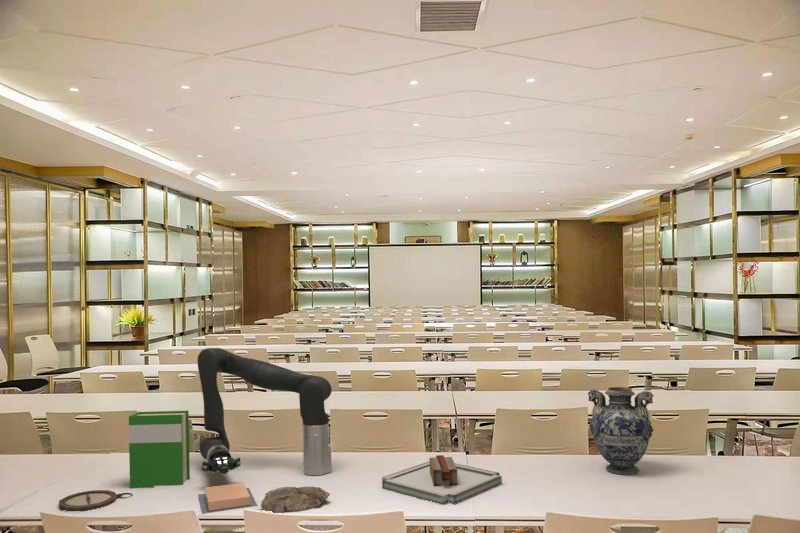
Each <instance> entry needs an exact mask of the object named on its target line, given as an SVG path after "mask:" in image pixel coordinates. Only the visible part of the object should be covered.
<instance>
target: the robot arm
mask: <svg viewBox="0 0 800 533" xmlns="http://www.w3.org/2000/svg"><path fill="white" fill-rule="evenodd" d="M197 369H198V374H199V380H200V385H201V387H200V388H201V392H202V398H203V400H202V401H203V420H204V421H203V423H204V425H203V426H204V427H203V428H204V430H205V431H207V432H208V431H209V432H216V433H217V434H218V436H212V437H205V438H203V439H202V440H201V441H200V443H199V453H200V455H201V457H202V458H203V459H205V460H206V461H203V462H201V465H202V466H201V469H202V471H204V472H210V473H219V474H221V475H227V473H229V471H233V470H235V469H237V468H239V467H241V462H242V460H241V459H242V458H241V457H237V458H234V457H233V456H232V455H231V453H230V448H231V446H230V442H229V439H228V436H227V432H226V429H225V428H226V427H225V413H224V412H225V411H224V408H225V407H224V404H223V400H222V396H221V394H220V391H219V387H218V379H217V378H218V374H219V373H221V374H222V373H223V374H228V375H233V376H235V377H238V378H240V379H242V380H243V381H245V382H246V383H248V384H250V385H252V386H254V387H257V388H260V389H265V390H269V391H270V390H271V391H279V392H281V391H282V392H292V393H296V394H298V398H299V400H298V401H299V414H300V417H301V419H302V448H303V449H302V450H303V451H302V452H303V454H302V455H303V456H302V457H303V474H305V475H307V476H321V475H327V474H329V473H332V446H331V444H330V418H329V414H328V413H326V410H325V401H326V400H328V399H329V397H330V396H331V394H332V388H333V387H332V386H331V383H330V382H329V380H327V379H326V378H324V377H323V376H320V375H319V376H318V375H313V374H312V375H311V374H307V373H300V372H297V371H294V370H292V369H289V368H286V367H282V366H280V365H277V364H274V363H270V362H267V361H262V360H258V359H254V358H249V357H243V356H241V355H239V354H238V355H237V354H236V353H233V352H230V351H229V350H225V349H223V348H220V347H207V348H204V349H202V350H201V351H200V352H199V354H198V356H197Z"/></svg>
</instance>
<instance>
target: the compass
mask: <svg viewBox="0 0 800 533" xmlns="http://www.w3.org/2000/svg"><path fill="white" fill-rule="evenodd" d="M123 495H124V496H123ZM125 495H126V496H125ZM127 495H129V496H127ZM132 497H133V493H131V492H122V493H118V494H117V493H116V492H115V491H112V490H107V489H105V490H103V489H96V490H95V489H94V490H86V491H81V492H76V493H73V494H69V495H67V496H65V497H63V498H61V499H59V501H58V507H60V508H59V509H60V510H61V511H63V510H66V511H65V512H67V511H81V512H89V511H93V509H94V510H98V509H97V508H99V509H101V507H102V508H104V507H107V506H110V505H112V504H113V503H115V502H116V500H117V499H127V498H132ZM88 510H89V511H88Z"/></svg>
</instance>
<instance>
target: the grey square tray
mask: <svg viewBox="0 0 800 533" xmlns="http://www.w3.org/2000/svg"><path fill="white" fill-rule="evenodd" d="M502 479H503V476H502V475H500V472H497V471H492V470H487V469H483V468H478V467H474V466H469V465H464V464H461V463H455V462H454V459H453V457H452V456H444V455H443V454H441V455H440V454H439V455H435V457H429V460H428V461H426V462H423V463H420V464H418V465H415V466H411V467H408V468H405V469H402V470H400V471H397V472H394V473H391V474H388V475H385V476H382V477H381V482H382V484H381V486H382V489H384V490H387V491H391V492H393V493H398V494H401V495H404V496H408V497H412V498H415V497H416V499H419V498H420V500H423V499H424V501H426V500H428V501H427V502H430V501H432V502H431V503H434V502H435V503H434V504H437V503H439V504H438V505H441V504H442V505H441V506H444V505H445V503H446V504H451V503H452V504H451V505H456V504H458V502H459V503H461V502H463V501H465V499H466V500H468V499H470V498H472V497H475V496H477V495H479V494H481V493H484V492H486V491H489V490H491V489H493V488H496V487H497V486H500V485H502V484H503V482H502ZM469 497H470V498H469ZM467 498H468V499H467ZM462 500H463V501H462ZM460 501H461V502H460ZM447 502H449V503H447ZM455 503H456V504H455Z"/></svg>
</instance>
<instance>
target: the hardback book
mask: <svg viewBox="0 0 800 533" xmlns="http://www.w3.org/2000/svg"><path fill="white" fill-rule="evenodd" d="M189 415H190V414H189V410H163V411H162V410H159V411H156V410H155V411H152V410H151V411H137V412H134V413H132V414H130V415H129V416H128V436H129V437H128V444H129V445H128V448H129V450H128V451H129V452H128V453H129V459H128V460H129V489H152V488H153V489H154V488H155V487H158V486H159V487H161V486H162V487H163V486H165V487H166V486H183V485H184V482H185V481H188V480H190V479H191V476H190V475H191V474H190V473H191V472H190V471H191V469H190V426H189V425H190V423H189V422H190V421H189Z"/></svg>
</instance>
